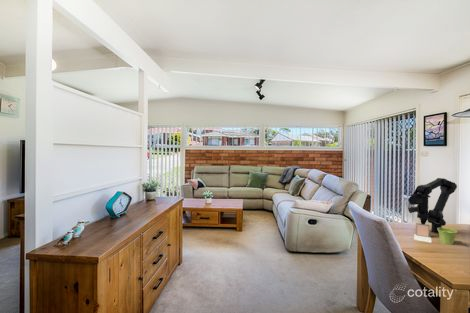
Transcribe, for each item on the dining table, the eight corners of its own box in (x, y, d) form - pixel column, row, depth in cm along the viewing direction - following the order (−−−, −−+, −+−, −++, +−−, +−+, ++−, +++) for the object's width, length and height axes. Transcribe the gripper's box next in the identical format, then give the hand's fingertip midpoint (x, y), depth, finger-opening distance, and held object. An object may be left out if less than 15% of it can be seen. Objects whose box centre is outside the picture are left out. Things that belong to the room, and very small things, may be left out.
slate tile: (416, 234, 167) (416, 223, 166) (429, 236, 162) (429, 225, 162) (416, 235, 165) (416, 223, 165) (429, 237, 161) (429, 225, 161)
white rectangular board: (414, 234, 168) (414, 233, 168) (430, 237, 163) (430, 236, 163) (413, 240, 157) (413, 239, 157) (431, 243, 152) (431, 242, 152)
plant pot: (460, 247, 146) (461, 233, 146) (442, 245, 148) (443, 231, 148) (450, 241, 155) (450, 228, 155) (433, 240, 157) (433, 227, 157)
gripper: (409, 200, 181) (409, 220, 182) (408, 204, 167) (408, 227, 167) (428, 202, 174) (428, 223, 175) (429, 206, 160) (428, 230, 160)
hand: (422, 225), depth 169 cm, fingers closed
